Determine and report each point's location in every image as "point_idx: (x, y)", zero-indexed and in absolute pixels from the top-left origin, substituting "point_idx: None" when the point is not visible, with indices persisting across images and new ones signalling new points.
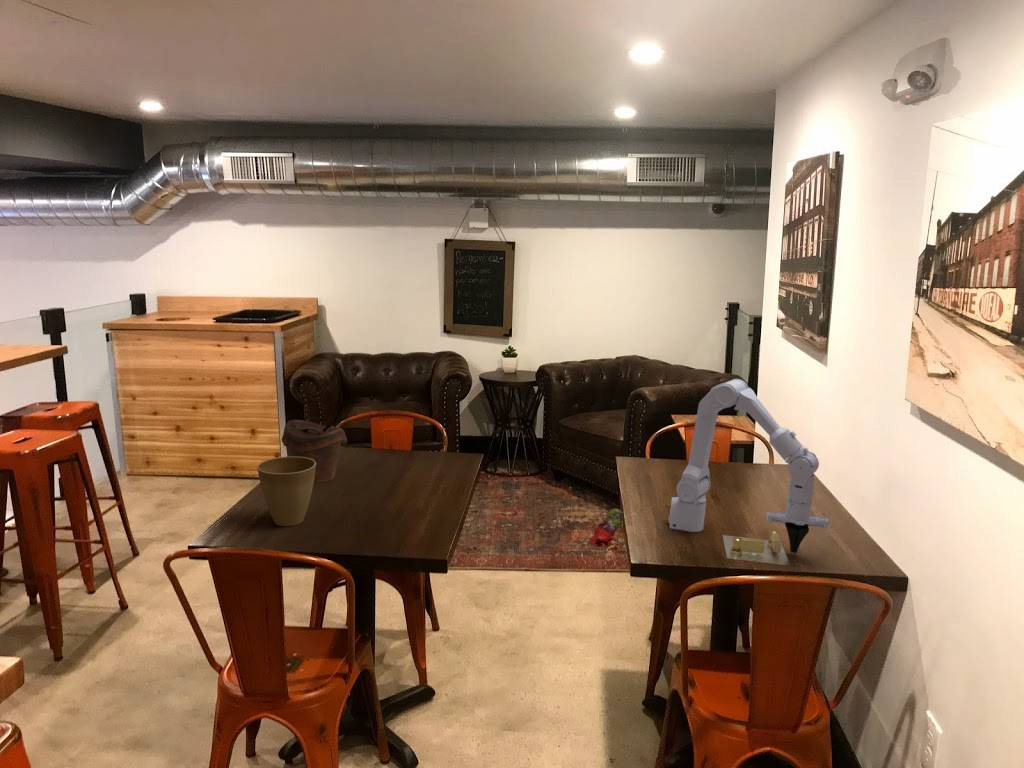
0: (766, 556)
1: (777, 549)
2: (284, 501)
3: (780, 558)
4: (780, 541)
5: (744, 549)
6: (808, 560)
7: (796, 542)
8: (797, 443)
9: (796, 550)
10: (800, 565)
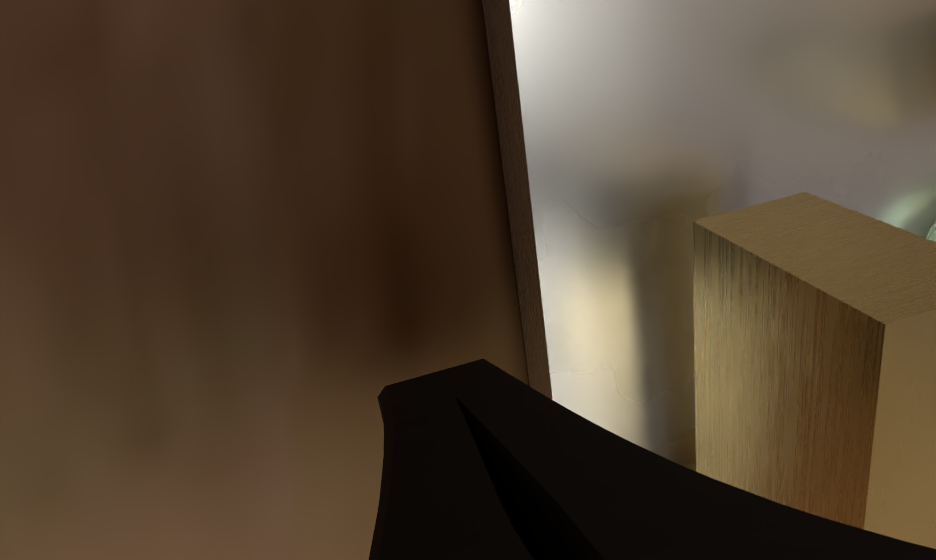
0: (876, 62)
1: (791, 227)
2: None
3: (652, 97)
4: (906, 329)
5: None
6: (131, 440)
7: (498, 503)
8: None
9: (405, 402)
10: (250, 123)
